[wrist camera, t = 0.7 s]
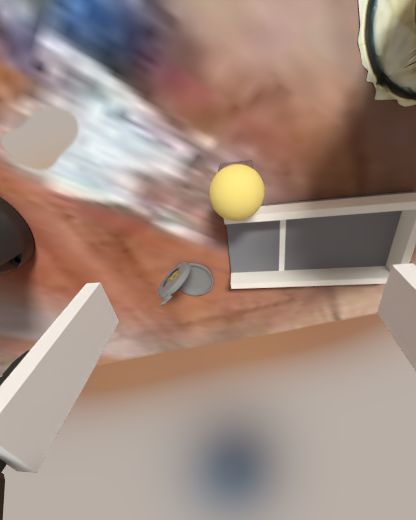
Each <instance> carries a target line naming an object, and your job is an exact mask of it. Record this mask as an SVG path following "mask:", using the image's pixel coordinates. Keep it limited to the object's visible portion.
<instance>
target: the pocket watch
mask: <svg viewBox="0 0 416 520" xmlns="http://www.w3.org/2000/svg"><path fill="white" fill-rule="evenodd" d="M212 286H213V276H212V274H211V272H210V271H209V270H208V269H207V268H206V267H205V266H203V265H200V264H197V263H187V262H182V263H180V264H179V265H177V266H176V267H175V268H174V269H173V270H172V271H171V272H170V273H169V274H168V275H167V276H166V277H165V279H164V280H163V282H162V283H161V285H160V287H159V289H158V295H159V296H160V297H161V298H165V299H164V301H163V302H162V303H161V304H160V305H159V306H162V305H163V304H165V303H166V302H169V300H170V299H171V298H172V294H173V293H175V292H176V291H177V290H178V289H180V290H181V291H182V292H184V293H186V294H189V295H193V296H198V295H203V294H206V293H207V292H209V291H210V290H211V288H212Z"/></svg>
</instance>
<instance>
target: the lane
mask: <svg viewBox="0 0 416 520" xmlns="http://www.w3.org/2000/svg"><path fill="white" fill-rule="evenodd" d="M224 224H226V227H227V236H228V246H229V256H230V266H231V289H242V288H271V287H299V286H328V285H356V284H385V283H386V282H387V279H388V276H389V272H390V269H391V266H392V265H395V264H409V262H410V259H411V257H412V254H413V251H414V248H415V245H416V192H415V191H407V192H396V193H385V194H374V195H363V196H352V197H341V198H329V199H318V200H307V201H296V202H285V203H274V204H263V205H261V207H260V208H259V210H258V211H257V212H256V213H255V214H254V215H252V216H251V217H249V218H247V219H245V220H241V221H231V220H227V219H225V218H224Z"/></svg>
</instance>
